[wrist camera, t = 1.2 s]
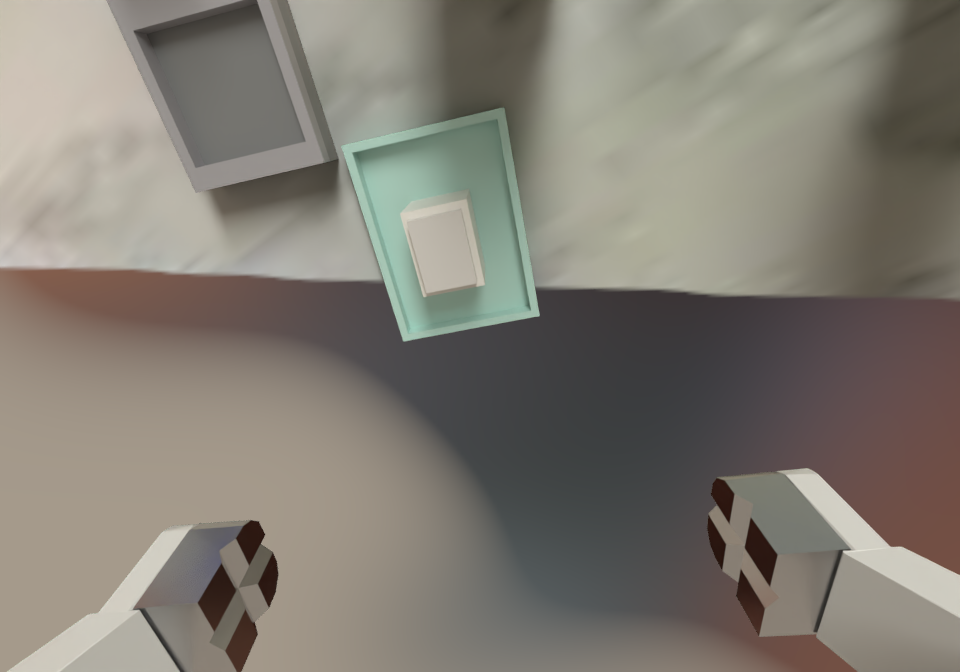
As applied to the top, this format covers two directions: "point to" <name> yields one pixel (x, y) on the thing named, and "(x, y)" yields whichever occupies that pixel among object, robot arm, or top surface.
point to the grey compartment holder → (228, 86)
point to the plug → (444, 243)
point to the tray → (435, 171)
